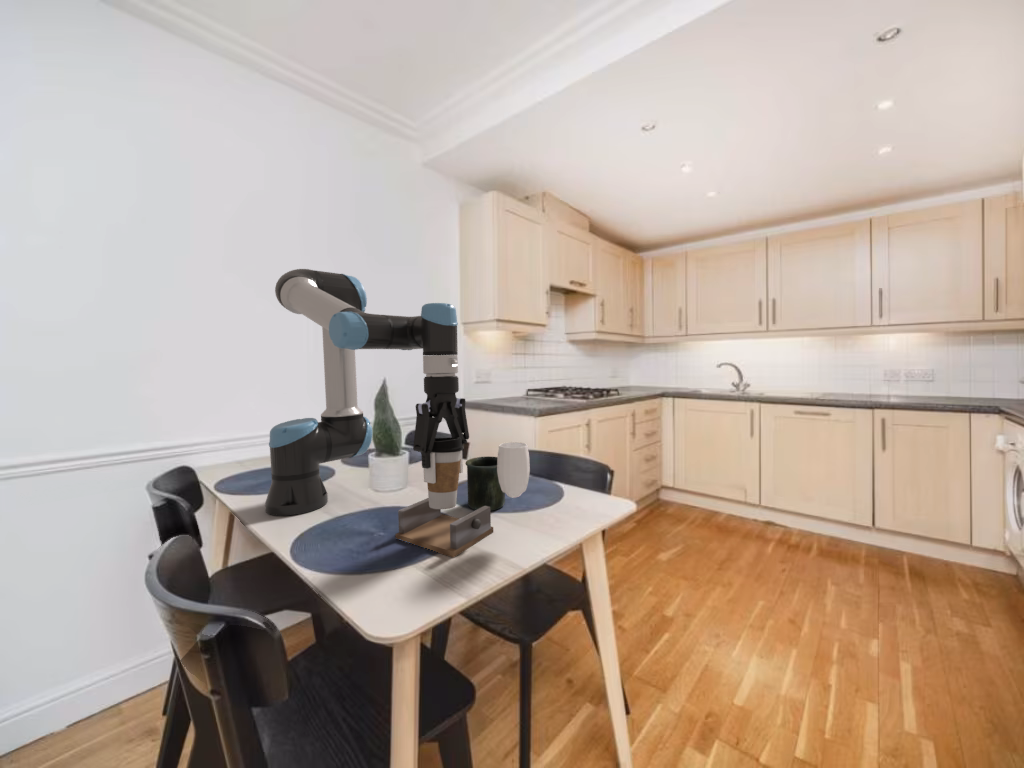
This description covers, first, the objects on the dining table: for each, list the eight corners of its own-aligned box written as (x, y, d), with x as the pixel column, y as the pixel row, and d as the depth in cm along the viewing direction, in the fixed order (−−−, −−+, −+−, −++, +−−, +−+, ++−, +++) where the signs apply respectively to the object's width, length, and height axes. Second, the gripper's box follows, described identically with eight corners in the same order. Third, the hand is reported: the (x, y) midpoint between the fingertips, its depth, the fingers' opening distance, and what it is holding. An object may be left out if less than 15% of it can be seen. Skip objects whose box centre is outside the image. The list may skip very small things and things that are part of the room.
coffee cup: (454, 512, 87) (455, 441, 87) (416, 509, 88) (417, 439, 88) (466, 501, 95) (467, 436, 95) (432, 499, 97) (433, 434, 97)
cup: (534, 543, 88) (532, 447, 87) (500, 546, 87) (498, 449, 86) (527, 529, 96) (526, 440, 94) (496, 532, 94) (494, 442, 93)
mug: (461, 511, 107) (460, 466, 106) (474, 493, 122) (473, 453, 121) (503, 513, 106) (502, 467, 105) (511, 494, 120) (510, 453, 119)
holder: (392, 538, 92) (391, 511, 92) (435, 517, 104) (435, 493, 103) (457, 558, 82) (456, 528, 82) (497, 533, 94) (496, 506, 94)
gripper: (418, 377, 80) (422, 493, 81) (483, 373, 98) (485, 467, 99) (391, 377, 84) (395, 487, 85) (458, 373, 102) (461, 464, 103)
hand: (444, 476), depth 92 cm, fingers closed on coffee cup, 8 cm apart
